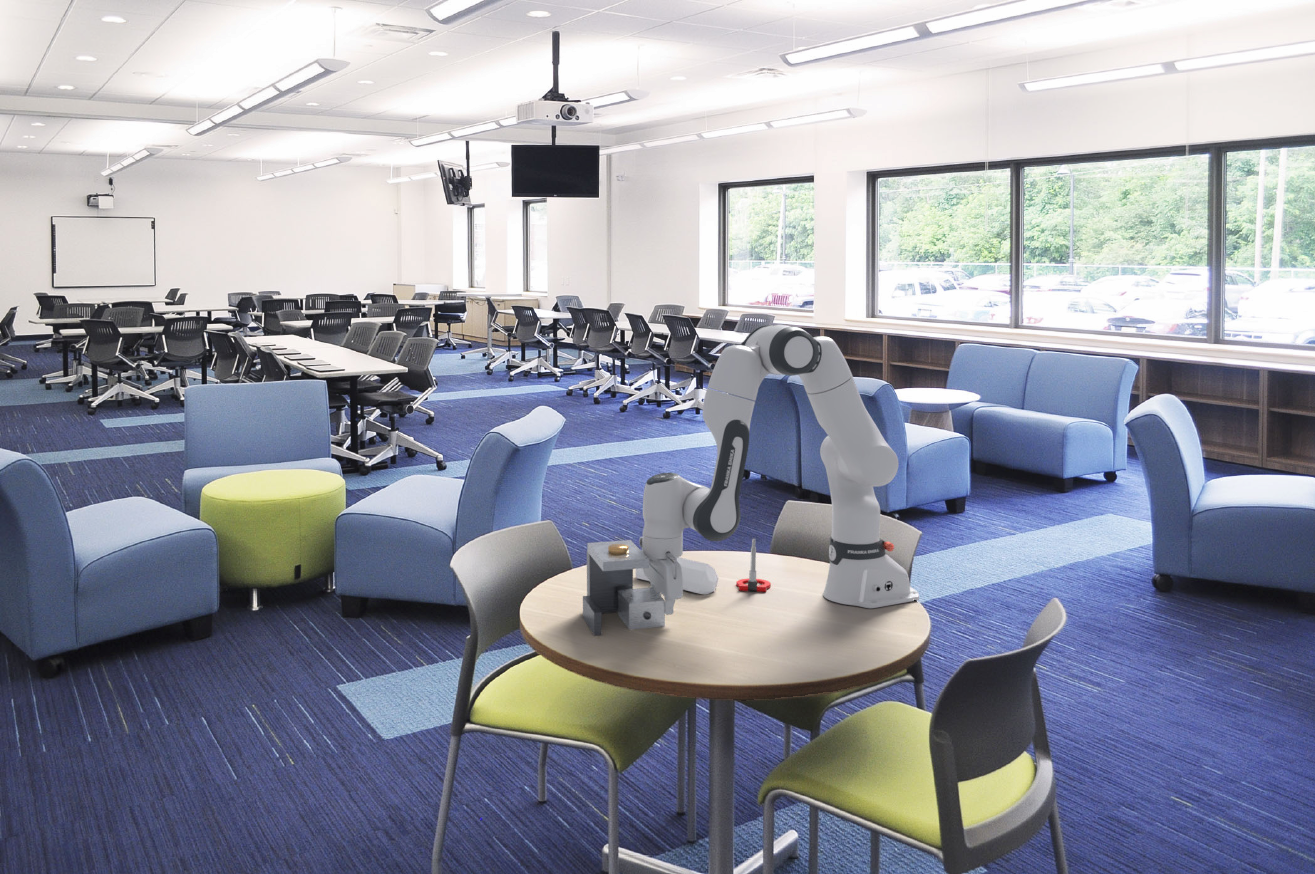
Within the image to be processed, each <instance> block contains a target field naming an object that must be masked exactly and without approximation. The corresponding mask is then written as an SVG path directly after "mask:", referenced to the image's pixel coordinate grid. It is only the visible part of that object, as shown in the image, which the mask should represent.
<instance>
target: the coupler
mask: <svg viewBox="0 0 1315 874" xmlns="http://www.w3.org/2000/svg"><path fill="white" fill-rule="evenodd" d="M586 544H587V550H586V595H582V619H583V620H584V622H585V623H586V625H587V627H588V628H589V630H590V631H591V632H592V634H593V636H594V637H595V636H602V614H608V613H618V590H625V589H634V570H636V569H639V568H649V558H648V557H647V556H646V555H645V554H644V553H643V552H642V549H640V548H639V546H637V545H636V543H634V542H633V541H632V540H631V539H626V540H612V541H598V542H587V543H586Z"/></svg>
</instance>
